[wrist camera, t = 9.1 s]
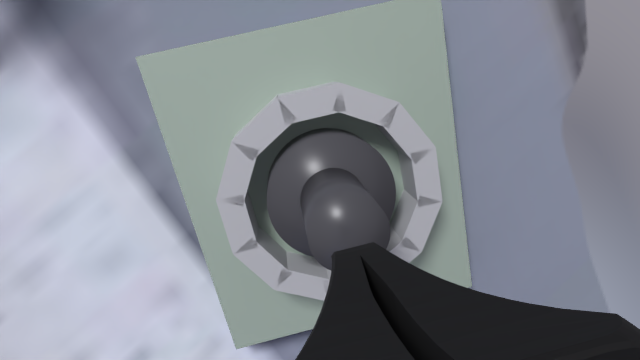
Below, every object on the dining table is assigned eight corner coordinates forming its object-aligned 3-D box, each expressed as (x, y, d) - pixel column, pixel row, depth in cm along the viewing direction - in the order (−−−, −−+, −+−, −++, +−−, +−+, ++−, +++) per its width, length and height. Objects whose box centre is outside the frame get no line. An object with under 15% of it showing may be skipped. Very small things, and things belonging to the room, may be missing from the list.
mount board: (459, 273, 23) (490, 307, 20) (238, 331, 23) (232, 376, 19) (427, -4, 19) (460, -20, 15) (146, 58, 18) (117, 55, 15)
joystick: (392, 224, 20) (439, 285, 14) (283, 252, 20) (288, 326, 14) (372, 115, 18) (418, 134, 13) (253, 144, 18) (244, 178, 12)
